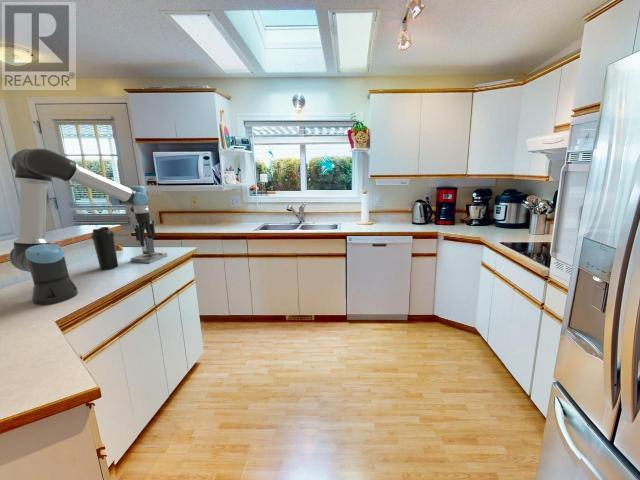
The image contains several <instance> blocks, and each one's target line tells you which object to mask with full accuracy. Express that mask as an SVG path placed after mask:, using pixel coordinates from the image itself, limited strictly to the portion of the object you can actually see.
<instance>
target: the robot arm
mask: <svg viewBox="0 0 640 480" xmlns="http://www.w3.org/2000/svg"><path fill="white" fill-rule="evenodd" d="M10 165H11V168H12V169H13V170H14V171H15V172H14V178H15V180H16V181H17V182H18V183H19V214H18V215H19V216H18V218H19V220H18V231H19V232H18V238H16V239H15V240H14V241H13V248H12V249H10V252H9V254H8V260H9V262H10V263H11V265H12V266H13V267H15V268H16V269H19V270H20V271H23V272H27V273H30V275H31V278H32V279H31V280H32V282H33V288H32V289H33V290H32V296H31V301H32V303H33V305H36V306H37V305H38V306H47V305H52V304H57V303H60V302H64V301H67V300H69V299H72V298H74V297H76V296H77V295H78V293H79V291H78V288H77V286H76V285H75V283H74V282H73V280H72V279H71V278H70V275H69V270H68V266H67V262H66V257H65V252H64V251H63V248H62V247H61V246H60V245H58V244H56V243H50V241H49V240H48V239H47V238H46V234H47V233H46V232H47V231H46V227H47V195H48V194H47V193H48V188H47V187H48V185H50V184H51V183H52V178H55V179H58V180H62V181H64V182H69V181H70V182H73V183H76V184H78V185H81V186H83V187H86V188H88V189H91V190H94V191H96V192H98V193H101V194H103V195H106V196H107V197H108V201H109V203H110V204H111V206H113V207H115V206H116V207H117V206H118V207H119V206H131V207H133V211H134V216H135V220H136V223H135V224H133V225H132V227H133V229H134V233H135V239H136V241H138V242H139V243H140V246H141V249H142V250H143V251H147V247H146V241H144V239H145V231H146V234H147V237H148V238H152V239H153V240H154V239H155V237H156V231H155V225H154V224H155V220H150V218H151V214H150V212H149V211H150V210H149V204H148V201H149V197H148V195H147V192H146V187H145V186H144V185H133V186H130V187H128V186H125V185H123V184H120V183H118V182H116V181H114V180H111V179H109V178H107V177H104V176H102V175H101V174H98V173H96V172H94V171H91V170H89V169H87V168H85V167H82V166H80V165H78V163H77V162H76V161H74V160H72V159H70V158H68V157H65V156H63V155H61V154H59V153H57V152H54V151H52V150H49V149H46V148H25V149H21V150H18V151H17V152H15V153H14V154H13V155H12V156H11V159H10ZM153 244H154V241H153Z"/></svg>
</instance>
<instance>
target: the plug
mask: <svg viewBox="0 0 640 480" xmlns="http://www.w3.org/2000/svg"><path fill="white" fill-rule="evenodd" d="M144 241H146V247H147V251H143V250H142V254H151V253H154V252H155V245H154V243H153V242H154V238H153V239H152V238H149V237H148V236H144Z"/></svg>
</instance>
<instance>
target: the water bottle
mask: <svg viewBox="0 0 640 480" xmlns="http://www.w3.org/2000/svg"><path fill="white" fill-rule="evenodd" d="M109 228H110V226H102V227H100V228H97V229H96V228H94V229H92V234H91V239H92V243H93V245H94V248H95V254H96V257H97V260H98V264H99V269H100V270H101V271H108V270H113V269H116V268H118V267H119V263H118V262H119V261H118V256H117V249H116V243H115V238H114V237H115V232H114V231H112V230H111V229H109Z"/></svg>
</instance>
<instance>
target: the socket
mask: <svg viewBox="0 0 640 480" xmlns="http://www.w3.org/2000/svg"><path fill="white" fill-rule="evenodd" d="M167 257H168V253H166V252H164V251H162V252H161V251H160V252H158V251H157V252H154V253H151V254H143V253H142V254H139V255H137V256H134V257H131V258H130V262H131V263H141V264H151V263H154V262H157V261H159V260H161V259H164V258H167Z"/></svg>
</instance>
